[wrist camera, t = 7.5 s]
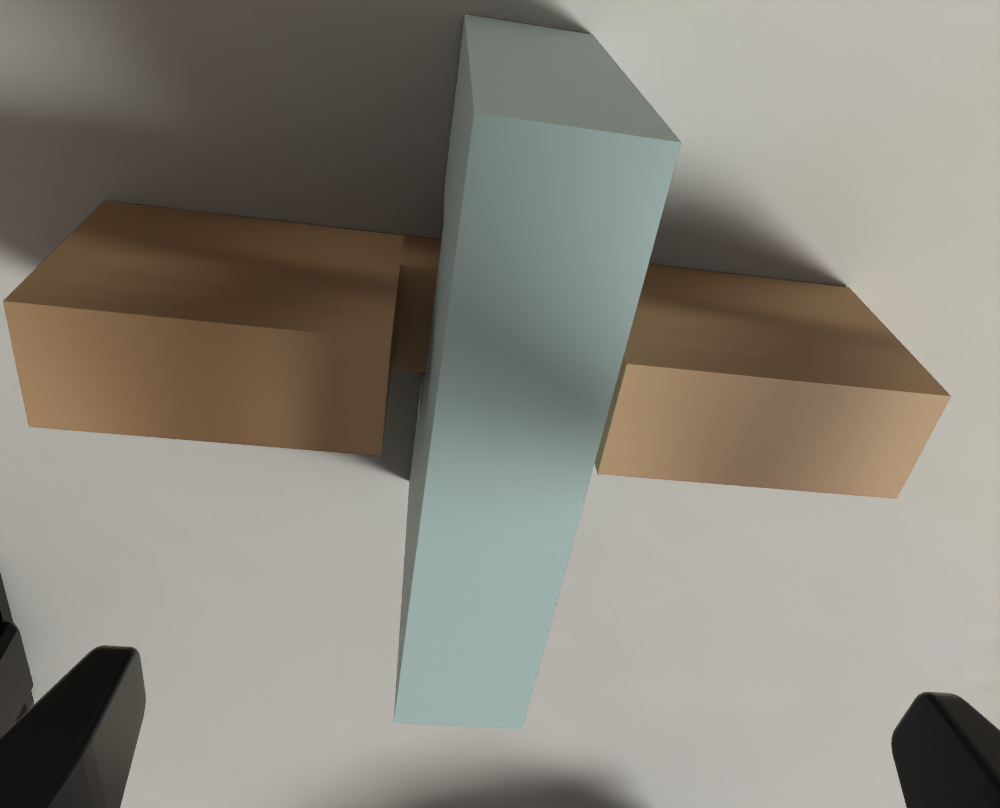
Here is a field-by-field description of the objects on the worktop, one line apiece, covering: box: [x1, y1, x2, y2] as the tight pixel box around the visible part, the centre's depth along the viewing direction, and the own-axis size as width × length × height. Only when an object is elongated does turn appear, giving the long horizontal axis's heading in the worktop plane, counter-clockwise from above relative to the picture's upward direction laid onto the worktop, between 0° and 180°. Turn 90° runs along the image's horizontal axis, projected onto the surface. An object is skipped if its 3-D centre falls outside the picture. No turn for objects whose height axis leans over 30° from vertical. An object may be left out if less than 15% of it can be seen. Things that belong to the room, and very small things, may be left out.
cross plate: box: [394, 14, 681, 729], centre depth 15 cm, size 2×11×7 cm, turn 171°
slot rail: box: [3, 201, 951, 499], centre depth 16 cm, size 16×2×4 cm, turn 82°
